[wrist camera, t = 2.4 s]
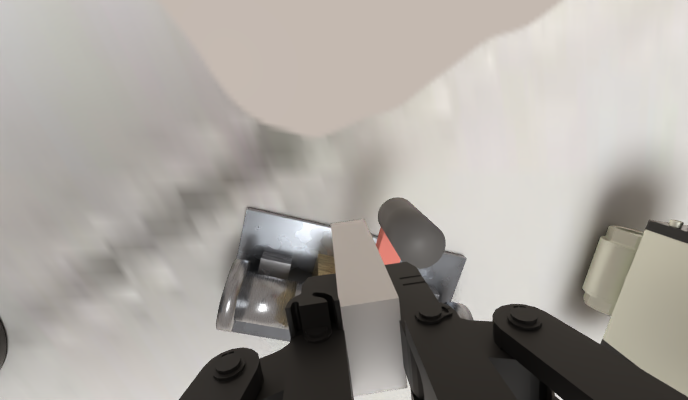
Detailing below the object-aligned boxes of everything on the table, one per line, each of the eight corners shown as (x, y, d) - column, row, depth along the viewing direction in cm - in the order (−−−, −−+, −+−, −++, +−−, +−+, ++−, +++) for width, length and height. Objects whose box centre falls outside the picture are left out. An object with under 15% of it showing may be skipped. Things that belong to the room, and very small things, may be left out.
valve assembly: (224, 325, 36) (192, 396, 27) (248, 207, 33) (222, 241, 24) (424, 360, 40) (458, 434, 31) (463, 255, 37) (513, 302, 28)
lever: (372, 377, 28) (387, 446, 22) (321, 369, 27) (323, 437, 21) (429, 204, 24) (465, 231, 19) (373, 191, 24) (392, 214, 18)
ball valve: (609, 331, 41) (820, 485, 24) (548, 325, 40) (721, 481, 23) (664, 193, 37) (966, 258, 20) (597, 182, 36) (853, 241, 19)
